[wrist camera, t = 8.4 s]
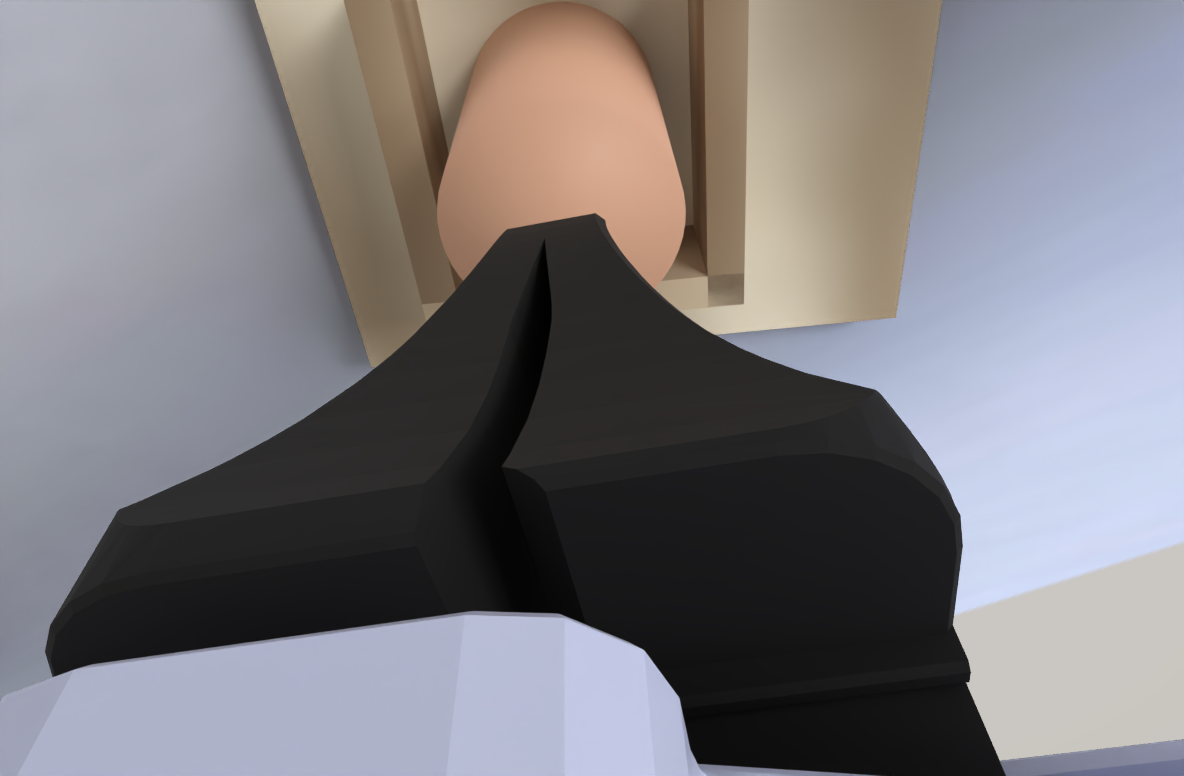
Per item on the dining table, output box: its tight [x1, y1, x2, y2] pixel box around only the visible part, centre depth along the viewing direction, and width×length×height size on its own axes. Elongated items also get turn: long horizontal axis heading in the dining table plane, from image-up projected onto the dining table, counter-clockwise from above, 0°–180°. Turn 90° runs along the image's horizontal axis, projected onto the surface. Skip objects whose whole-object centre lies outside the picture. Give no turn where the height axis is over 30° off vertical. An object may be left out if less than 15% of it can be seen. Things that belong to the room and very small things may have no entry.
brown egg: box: [437, 2, 686, 288], centre depth 16 cm, size 4×4×6 cm
